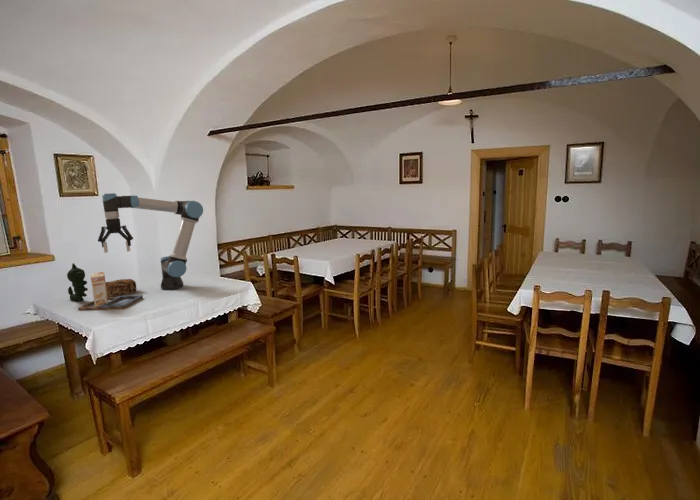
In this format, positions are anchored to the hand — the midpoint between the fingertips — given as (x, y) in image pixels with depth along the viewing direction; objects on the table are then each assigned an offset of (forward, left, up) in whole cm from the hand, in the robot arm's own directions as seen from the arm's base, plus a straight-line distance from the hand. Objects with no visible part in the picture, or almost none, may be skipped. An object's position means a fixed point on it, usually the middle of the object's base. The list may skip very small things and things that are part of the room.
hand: (117, 251), depth 241 cm
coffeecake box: (+9, +8, -32) cm, 34 cm away
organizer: (+3, +8, -32) cm, 33 cm away
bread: (+11, -17, -32) cm, 38 cm away
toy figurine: (+31, -4, -32) cm, 45 cm away
